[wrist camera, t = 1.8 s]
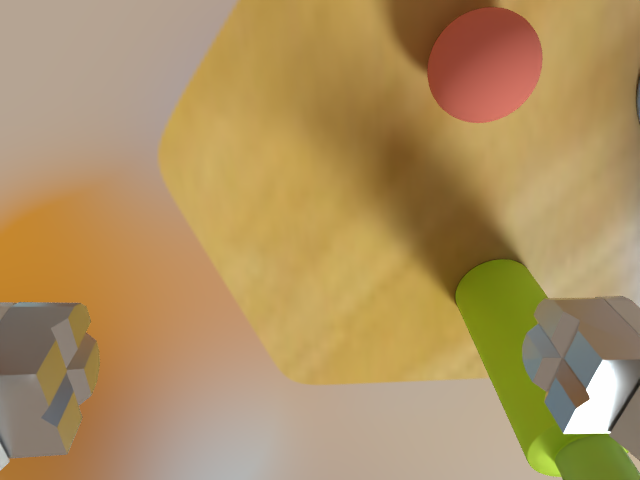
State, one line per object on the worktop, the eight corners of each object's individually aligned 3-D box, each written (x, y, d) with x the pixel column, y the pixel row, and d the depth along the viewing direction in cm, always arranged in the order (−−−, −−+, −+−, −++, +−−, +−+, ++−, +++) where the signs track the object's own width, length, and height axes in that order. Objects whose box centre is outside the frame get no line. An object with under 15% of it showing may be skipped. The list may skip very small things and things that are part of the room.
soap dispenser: (449, 259, 34) (605, 576, 17) (541, 258, 34) (782, 568, 17) (435, 318, 37) (555, 635, 20) (519, 318, 37) (706, 627, 20)
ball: (526, 2, 24) (580, 16, 20) (501, 105, 27) (544, 138, 23) (424, 0, 24) (455, 14, 20) (410, 104, 27) (435, 138, 23)
